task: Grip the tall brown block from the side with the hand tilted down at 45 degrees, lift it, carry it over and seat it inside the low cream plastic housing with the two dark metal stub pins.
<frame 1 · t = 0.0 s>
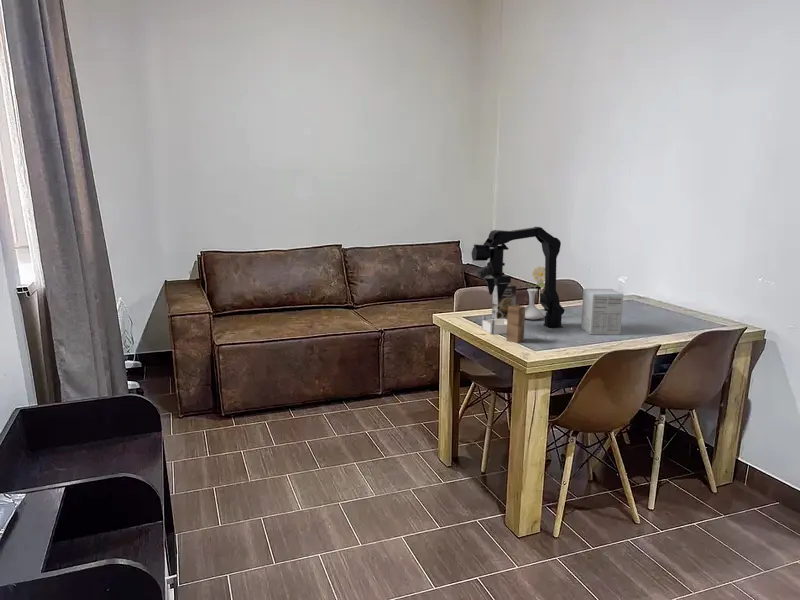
hand: (494, 296, 258), 15 cm above the table, tool pointing down, fingers open, 9 cm apart
supplement box: (600, 331, 260), on the table
coffee box: (503, 319, 281), on the table
flower in vase: (532, 319, 282), on the table
housing: (498, 330, 259), on the table
brown block: (514, 340, 243), on the table
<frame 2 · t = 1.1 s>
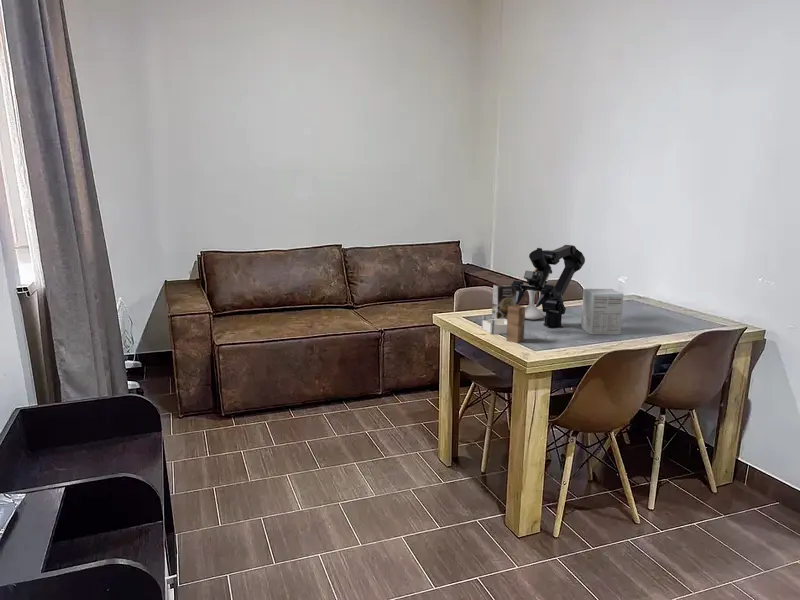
hand: (526, 305, 246), 13 cm above the table, tool tilted 45°, fingers open, 9 cm apart
nothing on the table moved.
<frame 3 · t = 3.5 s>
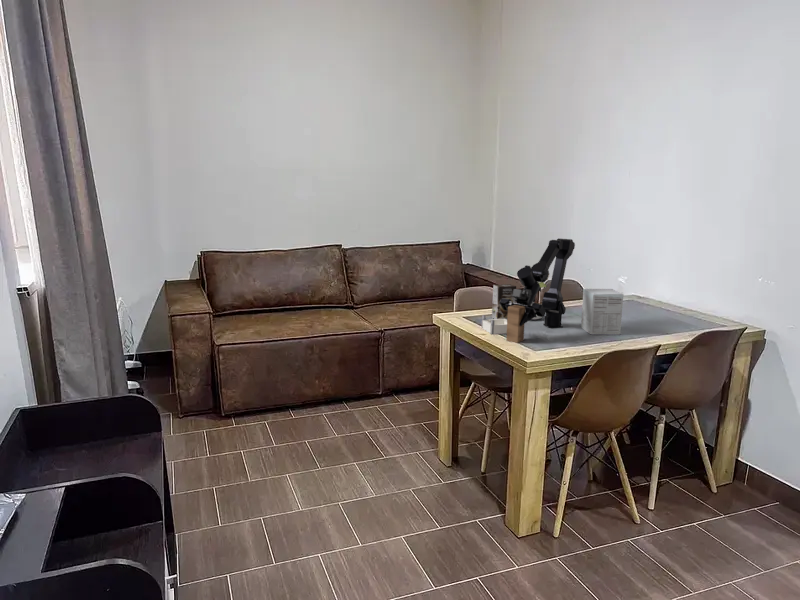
hand: (513, 324, 240), 7 cm above the table, tool tilted 45°, fingers closed on brown block, 5 cm apart
brown block: (514, 340, 243), on the table, touching gripper
everything else where it was.
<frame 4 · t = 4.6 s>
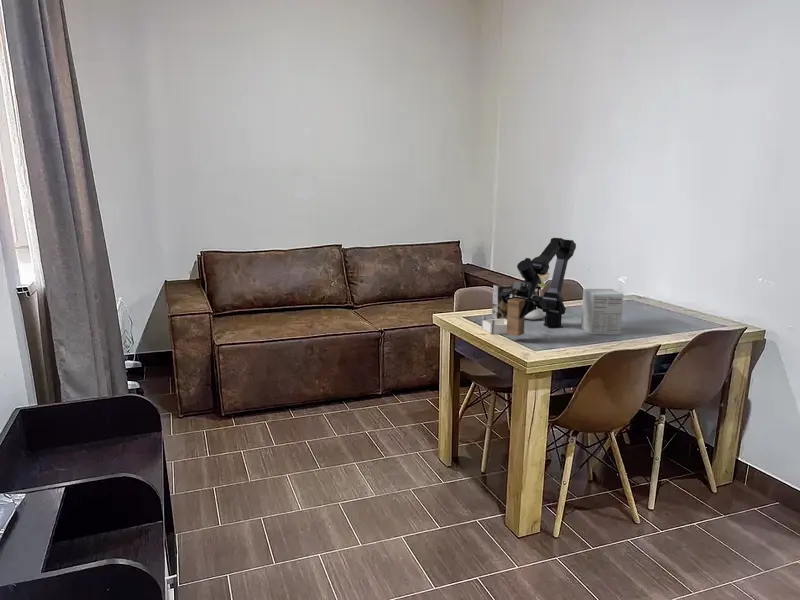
hand: (514, 316, 240), 10 cm above the table, tool tilted 45°, fingers closed on brown block, 5 cm apart
brown block: (515, 333, 242), point 3 cm above the table, touching gripper
everything else where it was.
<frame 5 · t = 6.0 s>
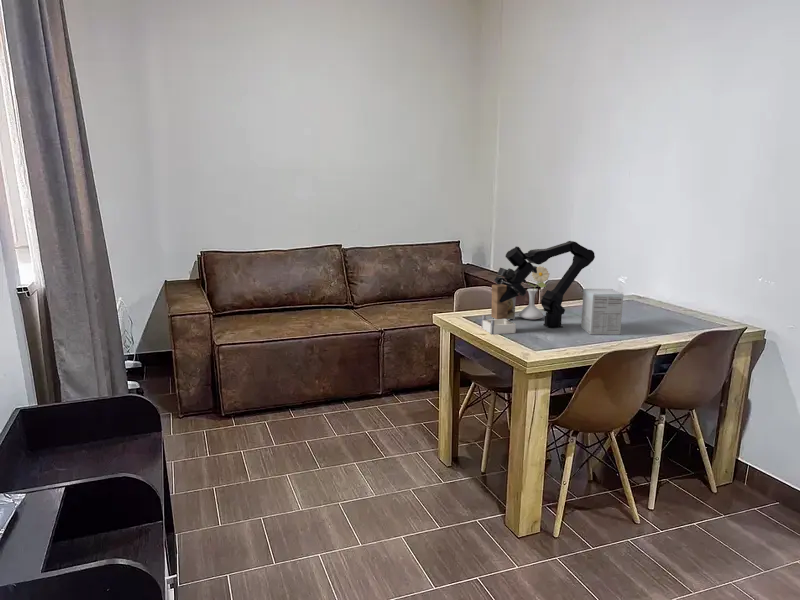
hand: (497, 300, 255), 13 cm above the table, tool tilted 45°, fingers closed on brown block, 5 cm apart
brown block: (499, 317, 257), point 6 cm above the table, touching gripper
everything else where it was.
when the fingers open (9 cm above the table, at t = 7.2 s): brown block stays where it is, resting on housing.
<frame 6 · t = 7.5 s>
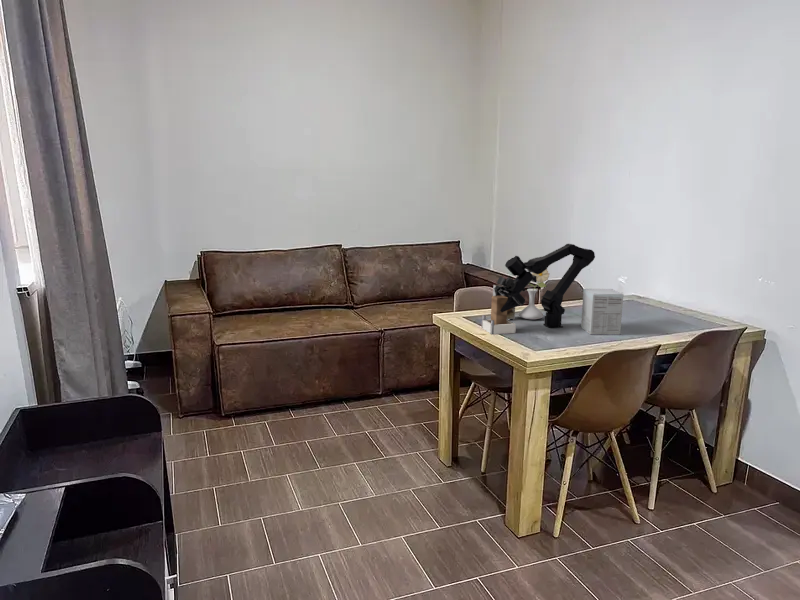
hand: (496, 309, 257), 9 cm above the table, tool tilted 45°, fingers open, 8 cm apart
brown block: (498, 328, 259), point 1 cm above the table, touching housing
everything else where it was.
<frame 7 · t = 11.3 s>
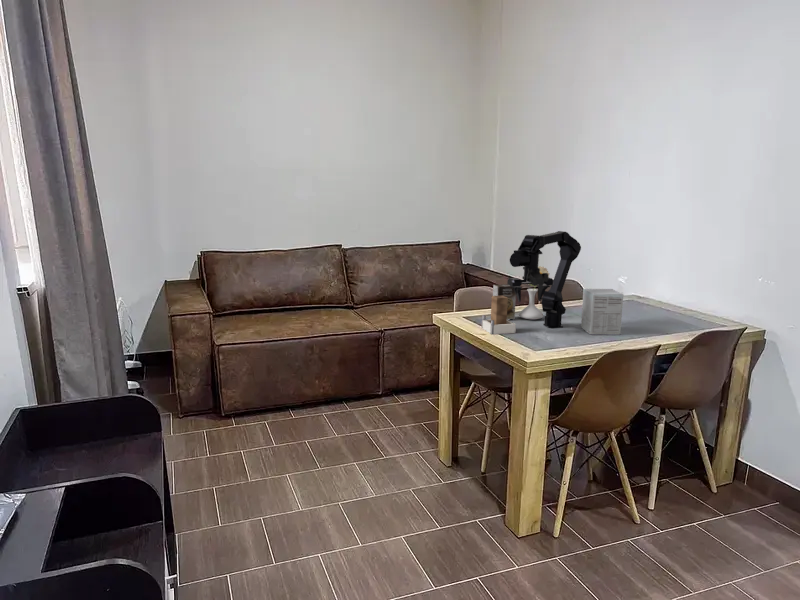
hand: (529, 301, 255), 13 cm above the table, tool pointing down, fingers open, 9 cm apart
nothing on the table moved.
at the end: brown block inside the target area on the housing (0.0 cm from its centre), point 0.8 cm above the housing's base; brown block tilted 0°; the gripper is holding nothing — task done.
